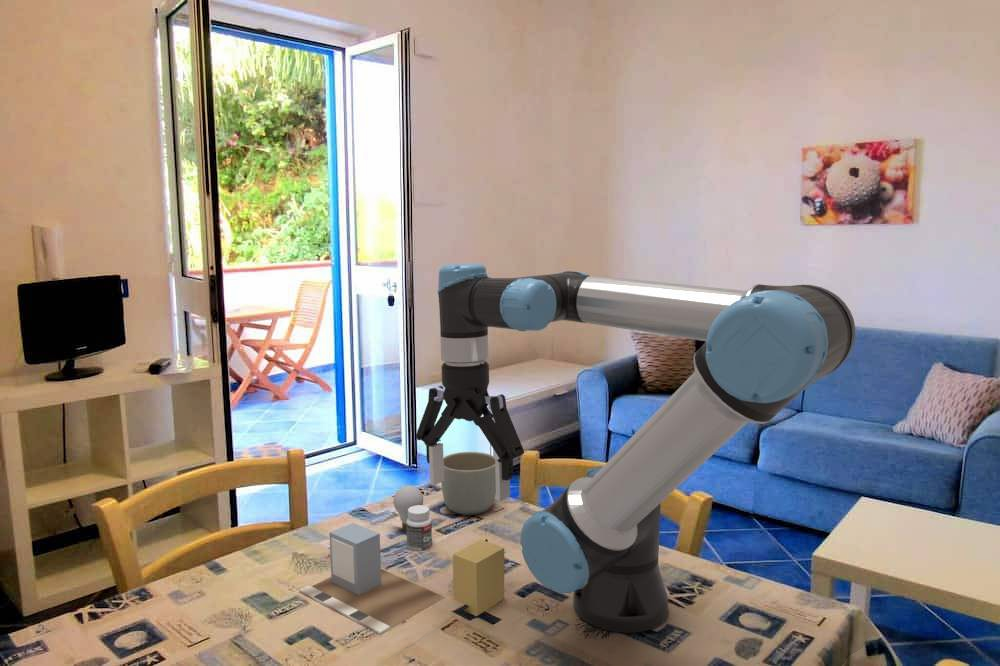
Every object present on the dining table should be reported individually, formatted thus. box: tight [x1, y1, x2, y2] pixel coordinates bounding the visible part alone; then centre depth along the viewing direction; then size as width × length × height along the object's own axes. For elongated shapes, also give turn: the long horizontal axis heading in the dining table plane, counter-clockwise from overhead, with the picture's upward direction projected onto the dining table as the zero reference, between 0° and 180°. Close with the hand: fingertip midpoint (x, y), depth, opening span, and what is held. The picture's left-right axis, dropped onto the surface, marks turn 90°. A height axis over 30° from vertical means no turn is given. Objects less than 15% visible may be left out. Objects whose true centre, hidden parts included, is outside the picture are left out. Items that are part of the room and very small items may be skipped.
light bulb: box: [392, 484, 424, 532], centre depth 147 cm, size 6×6×10 cm
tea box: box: [452, 539, 505, 617], centre depth 121 cm, size 5×7×9 cm
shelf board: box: [298, 568, 445, 636], centre depth 122 cm, size 20×14×2 cm
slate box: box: [328, 522, 382, 595], centre depth 125 cm, size 5×7×9 cm
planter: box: [440, 451, 498, 516], centre depth 159 cm, size 12×12×11 cm
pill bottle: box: [406, 505, 433, 552], centre depth 139 cm, size 5×5×8 cm
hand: (469, 490), depth 120 cm, fingers open, 13 cm apart
